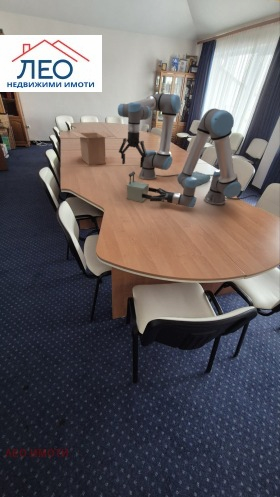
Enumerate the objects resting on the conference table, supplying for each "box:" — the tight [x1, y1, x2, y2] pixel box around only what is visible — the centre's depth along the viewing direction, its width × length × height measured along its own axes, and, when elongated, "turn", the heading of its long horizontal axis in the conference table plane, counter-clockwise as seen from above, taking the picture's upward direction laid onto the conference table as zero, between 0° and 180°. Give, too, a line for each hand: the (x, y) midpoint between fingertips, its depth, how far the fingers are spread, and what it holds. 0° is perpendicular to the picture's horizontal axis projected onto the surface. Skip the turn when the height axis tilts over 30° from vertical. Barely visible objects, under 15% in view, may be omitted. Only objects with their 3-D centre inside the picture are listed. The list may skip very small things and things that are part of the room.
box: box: [70, 129, 114, 166], centre depth 229 cm, size 44×36×27 cm
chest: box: [126, 185, 149, 203], centre depth 163 cm, size 13×10×10 cm
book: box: [191, 171, 211, 187], centre depth 203 cm, size 23×16×5 cm
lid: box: [125, 171, 149, 190], centre depth 158 cm, size 14×10×9 cm
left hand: (132, 165), depth 154 cm, fingers open, 13 cm apart
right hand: (145, 192), depth 160 cm, fingers open, 13 cm apart
